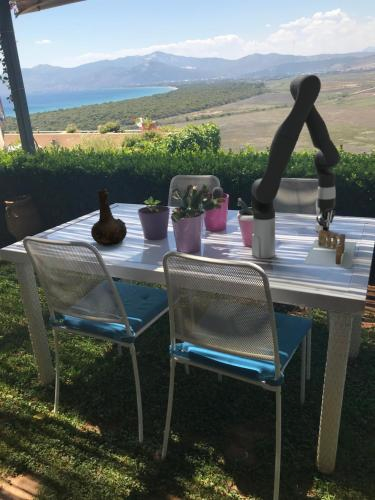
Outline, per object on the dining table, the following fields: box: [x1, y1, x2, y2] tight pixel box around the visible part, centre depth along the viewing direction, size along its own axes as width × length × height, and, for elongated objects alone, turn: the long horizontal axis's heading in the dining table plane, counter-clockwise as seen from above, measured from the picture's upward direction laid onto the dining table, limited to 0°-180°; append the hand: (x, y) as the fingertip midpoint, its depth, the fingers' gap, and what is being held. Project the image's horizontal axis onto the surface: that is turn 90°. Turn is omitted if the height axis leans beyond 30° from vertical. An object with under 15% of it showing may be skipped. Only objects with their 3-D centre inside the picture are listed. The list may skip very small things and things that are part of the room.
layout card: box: [303, 239, 357, 269], centre depth 178 cm, size 31×18×1 cm, turn 155°
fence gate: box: [317, 229, 346, 249], centre depth 181 cm, size 13×2×7 cm, turn 38°
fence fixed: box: [335, 234, 346, 264], centre depth 170 cm, size 14×2×8 cm, turn 155°
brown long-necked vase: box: [90, 188, 128, 247], centre depth 208 cm, size 18×18×28 cm
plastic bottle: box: [314, 200, 323, 233], centre depth 202 cm, size 6×7×20 cm
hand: (325, 233), depth 186 cm, fingers closed
